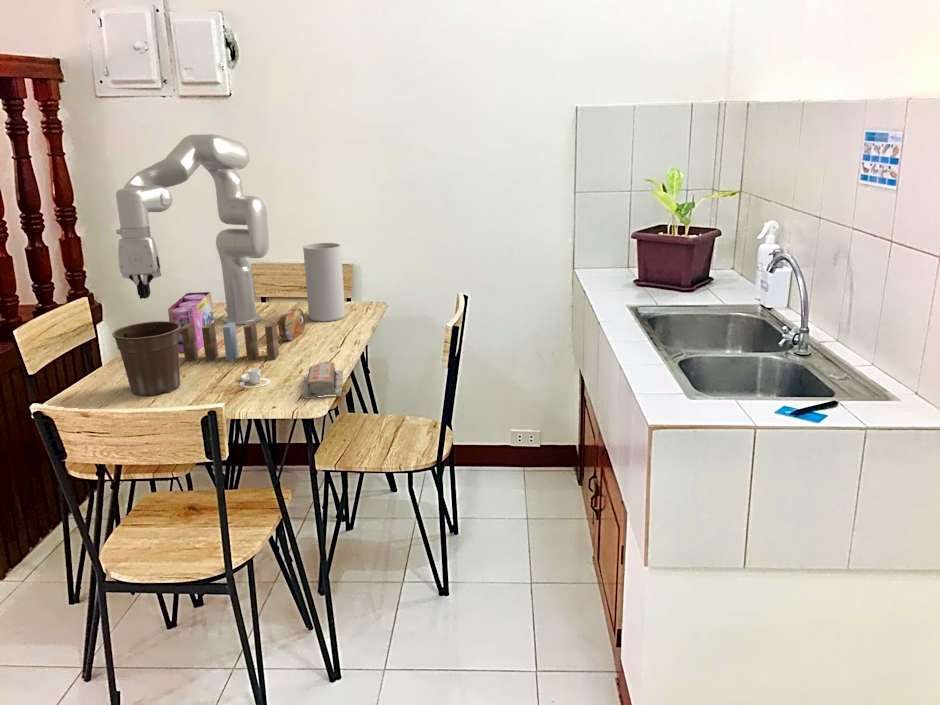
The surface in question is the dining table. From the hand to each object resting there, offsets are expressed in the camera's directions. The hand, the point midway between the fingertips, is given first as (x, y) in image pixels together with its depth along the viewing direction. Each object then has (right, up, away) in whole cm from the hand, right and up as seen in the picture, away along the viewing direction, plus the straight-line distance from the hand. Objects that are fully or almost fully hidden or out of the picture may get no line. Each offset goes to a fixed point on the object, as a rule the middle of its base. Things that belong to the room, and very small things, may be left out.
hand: (144, 297), depth 226 cm
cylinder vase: (+43, -4, +49) cm, 66 cm away
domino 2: (+17, -17, +6) cm, 25 cm away
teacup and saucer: (+37, -24, -13) cm, 46 cm away
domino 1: (+11, -18, +6) cm, 22 cm away
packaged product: (+55, -25, -20) cm, 63 cm away
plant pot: (+11, -25, -19) cm, 33 cm away
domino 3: (+23, -17, +6) cm, 30 cm away
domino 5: (+35, -17, +6) cm, 40 cm away
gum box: (+6, -13, +23) cm, 27 cm away
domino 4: (+29, -17, +6) cm, 35 cm away
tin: (+36, -11, +26) cm, 46 cm away
